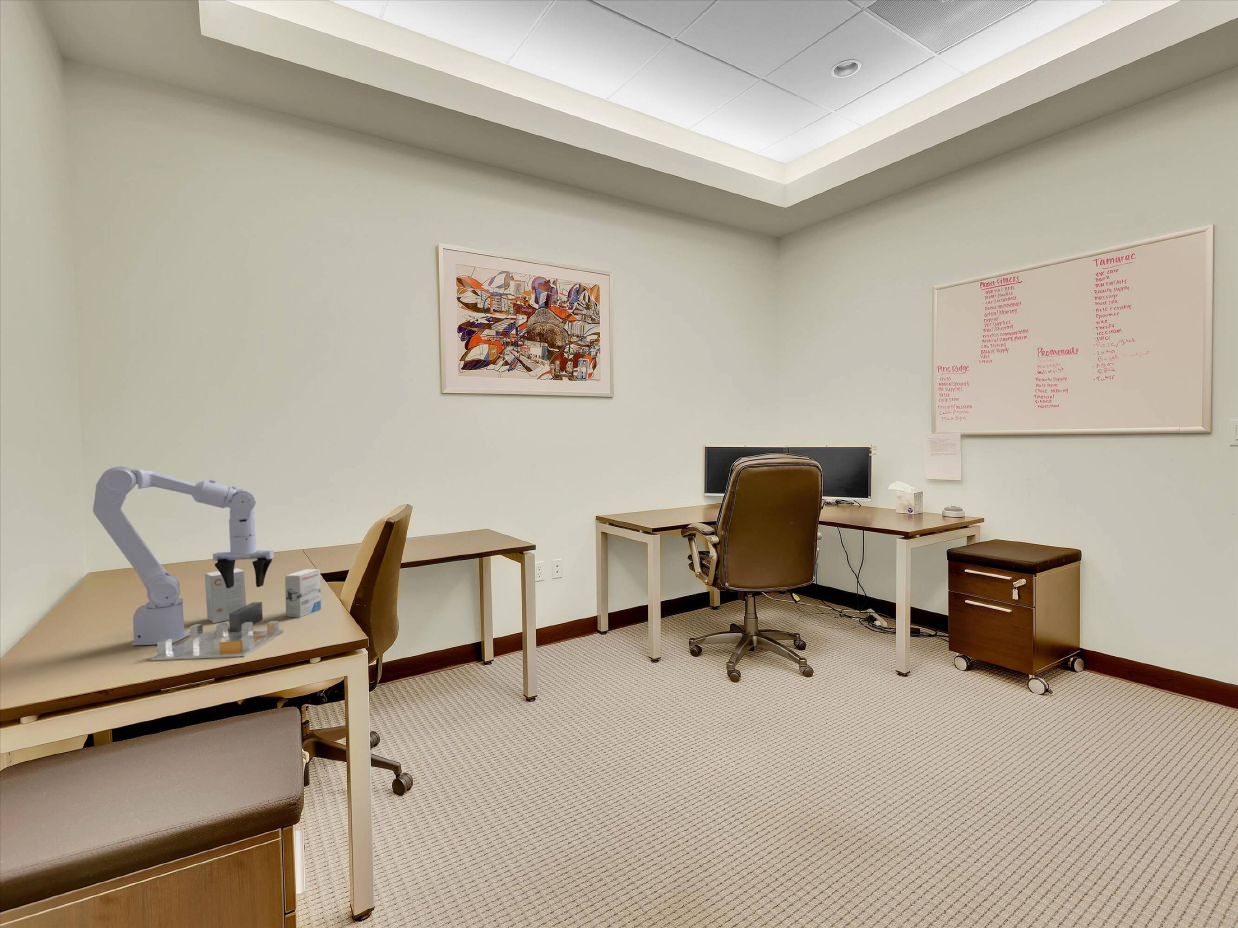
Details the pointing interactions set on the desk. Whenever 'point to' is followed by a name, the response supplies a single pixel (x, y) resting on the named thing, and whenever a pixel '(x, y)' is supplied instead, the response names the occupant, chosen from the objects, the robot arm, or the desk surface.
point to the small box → (224, 595)
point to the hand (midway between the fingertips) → (245, 586)
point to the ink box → (302, 592)
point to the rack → (217, 642)
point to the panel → (245, 616)
